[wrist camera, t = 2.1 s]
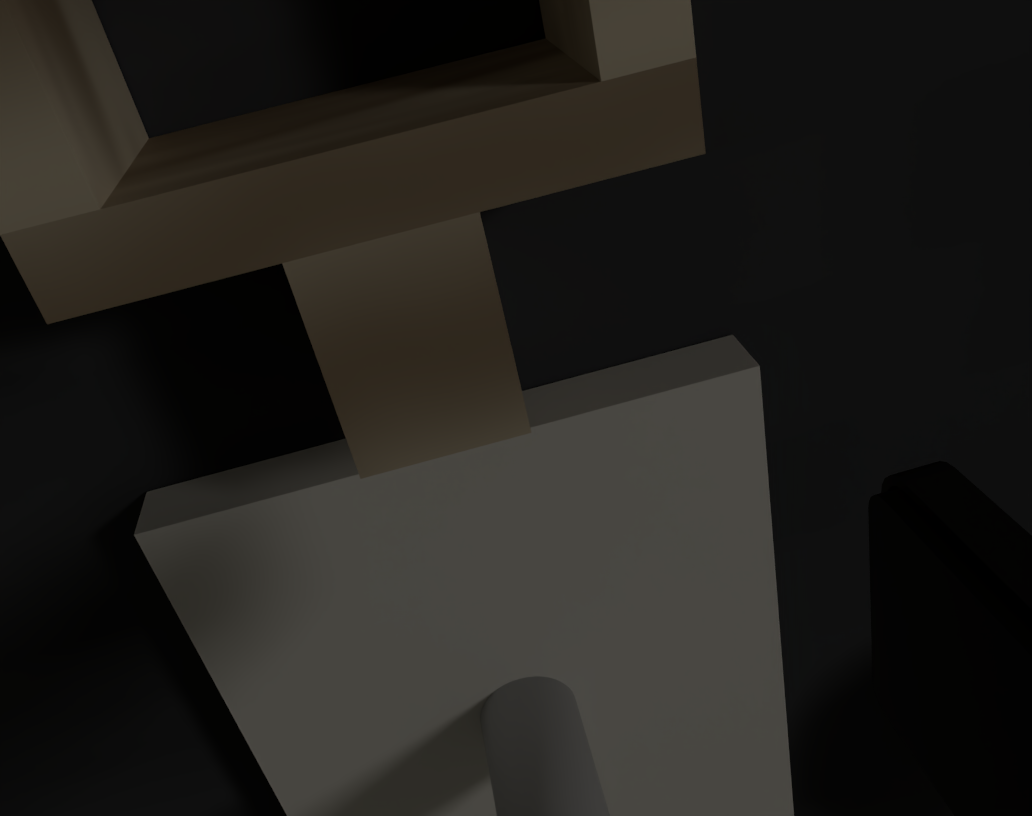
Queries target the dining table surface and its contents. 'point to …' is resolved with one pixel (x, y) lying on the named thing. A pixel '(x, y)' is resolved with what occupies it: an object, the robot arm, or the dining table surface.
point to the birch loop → (340, 198)
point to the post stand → (505, 608)
